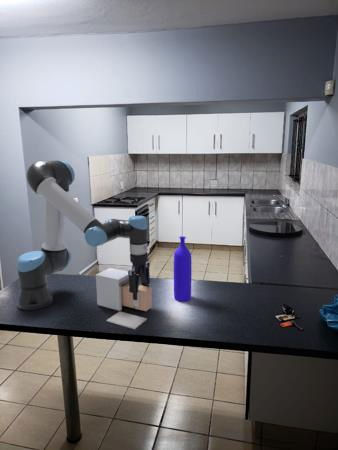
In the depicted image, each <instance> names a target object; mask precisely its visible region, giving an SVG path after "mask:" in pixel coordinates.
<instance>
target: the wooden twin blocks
mask: <svg viewBox="0 0 338 450" xmlns="http://www.w3.org/2000/svg"><path fill="white" fill-rule="evenodd" d="M152 289H153V288H152V286H149V287H147V286H142V284H139V288H138V292H139V299H140V307H136V306H134V304H133V293H131V292H129V282H127V283H125V284H123V285H122V286H121V301H122V307H127V308H132V309H135V310H140V311H144V312H148V311H149V310H150V309H151V308H152V307H153V290H152Z"/></svg>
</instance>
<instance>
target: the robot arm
mask: <svg viewBox="0 0 338 450" xmlns="http://www.w3.org/2000/svg"><path fill="white" fill-rule="evenodd" d="M26 171H27V172H26V181H27V185H28V186H29V188H30V189H31V190H32V191H33V192H34V193H35V194H36V195H37V196H38V197H43V198H44V199H45V213H44V214H45V215H44V216H45V217H44V218H45V222H44V242H43V243H42V244H41V246H40V247H41V250H32V251H28V252H26V253H23V254H21V255H20V256H18V257H17V261H16V262H17V266H16V269H17V275H18V282H19V292H18V293H19V294H18V297H17V302H16V304H17V308H18V309H20V310H22V311H35V310H36V311H37V310H40V309H43V308H45V307H46V308H47V307H48V306H50V305H51V304H52V303H53V301H54V299H53V294H52V292H51V291H50V289H49V286H48V279H47V278H48V277H50V276H52V275H54V274H55V273H58V272H61V271H63V270H64V269H67V267H69V266H70V264H71V261H72V253H71V252H70V249H69V248H68V246H67V244H66V243H65V240H64V239H65V238H64V237H65V218H66V219H67V220H69V221H70V222H71V223H72V224H73V225H74V226H76V227H77V228H78V229H79V230H80V231H81V232H82V233H83V234H84V240H85V242H86V244H87V245H88V246H89V247H100V246H103V245H104V244H106V243H108V242H111V241H113V240H115V239H118V238H122V239H129V260H130V261H129V262H130V263H131V264H132V266H131V270H128V275H129V292H131V293H133V304H134V306H136V307H140V299H139V292H138V288H139V285H142V286H147V287H150V283H151V282H150V281H151V280H150V278H151V277H150V276H151V275H150V274H151V273H150V267H151V263H150V262H148V261H149V254H148V250H149V249H148V221H147V217H145V216H143V215H131V216H130V217H128V220H125V219H116V218H108V219H106V220H105V221H104V222H103V223H102V222H101V221H99V220H98V219H97V218H96V217H95V216H94V215H92V213H90V212H89V210H88V209H86V208H85V207H83V206H82V205H81V204H80V203H79V202H78V201H77V200H76V199H74V198H73V196H71V195H70V194H69V191H70V185H72V184H73V183H74V181H75V177H76V175H75V170H74V169H73V167H72V166H71V164H70V163H69V162H67V161H65V160H57V159H56V160H55V159H54V160H45V161H44V160H40V161H36V162H33V163H32V164H31V165H30V166H29V167H28V169H27V170H26ZM140 283H141V284H140Z"/></svg>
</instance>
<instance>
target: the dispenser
mask: <svg viewBox="0 0 338 450" xmlns="http://www.w3.org/2000/svg"><path fill="white" fill-rule="evenodd" d="M128 271H129V270H128ZM128 271H126V270H123V269H117V268H112V267H109V268H106V269H105V270H102V271H101V272H99V273H97V274H95V287H96V302H97V306H100V307H104V308H108V309H112V310H115V311H118V312H119V311H120V312H121V311H122V310H123V305H122V301H121V286H122V285H123V284H125V283H127V282H129V275H128Z"/></svg>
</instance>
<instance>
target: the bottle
mask: <svg viewBox="0 0 338 450" xmlns="http://www.w3.org/2000/svg"><path fill="white" fill-rule="evenodd" d="M178 239H180V240H179V242H180V243H179V247H177V249H176V250H175V251H174V253H173V296H174V297H173V298H174V300H175V301H177V302H179V303H180V302H181V303H185V302H189V301H190V300H191V299H192V253H191V251H190V249H188V248H187V247H186V239H187V237H186V236H179V237H178Z"/></svg>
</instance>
